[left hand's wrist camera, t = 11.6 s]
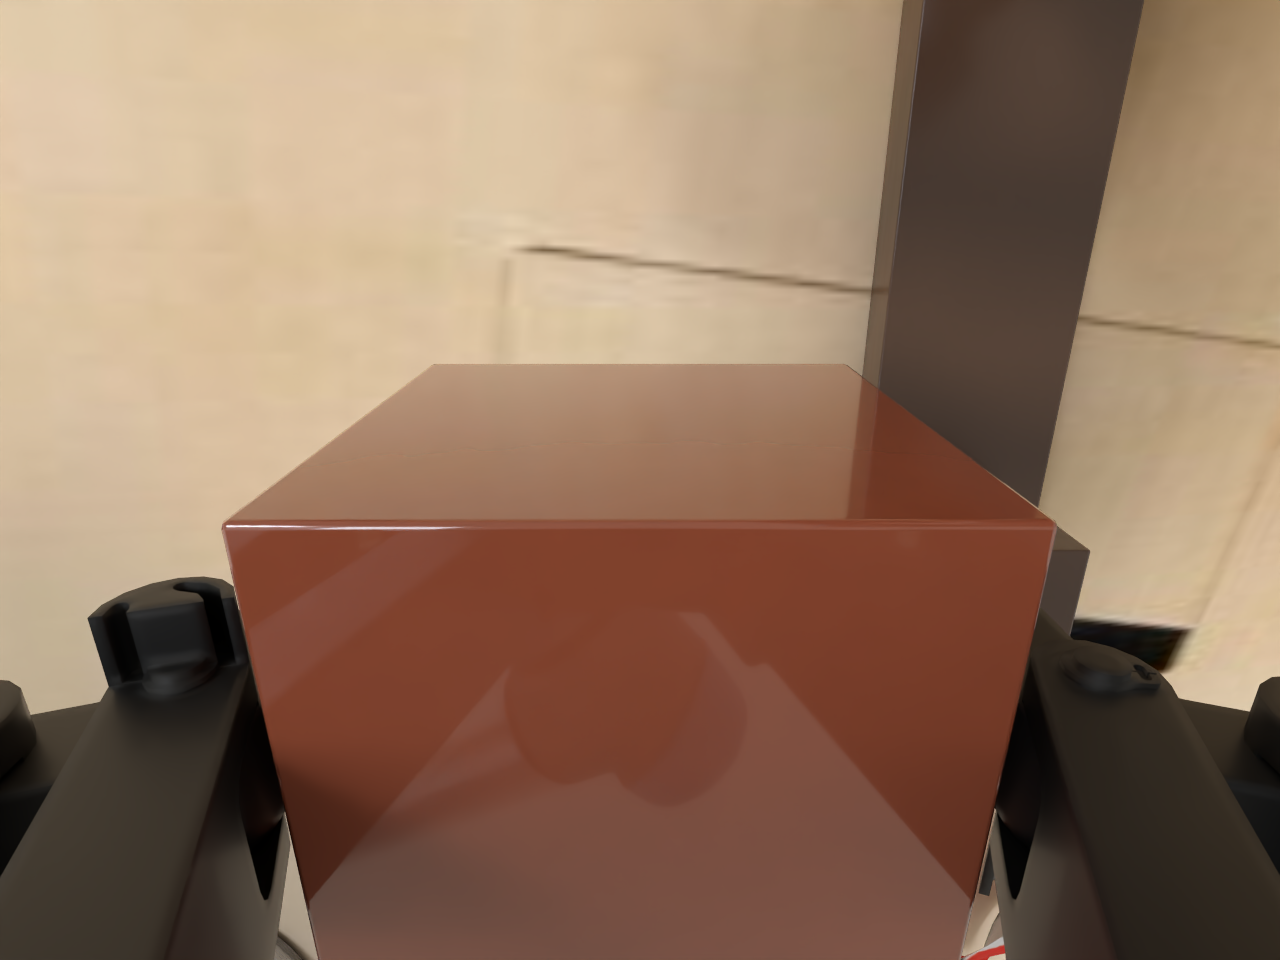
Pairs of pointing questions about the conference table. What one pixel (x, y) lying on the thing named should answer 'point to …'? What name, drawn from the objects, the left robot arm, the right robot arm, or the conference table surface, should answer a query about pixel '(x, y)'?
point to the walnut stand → (996, 227)
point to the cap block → (639, 666)
